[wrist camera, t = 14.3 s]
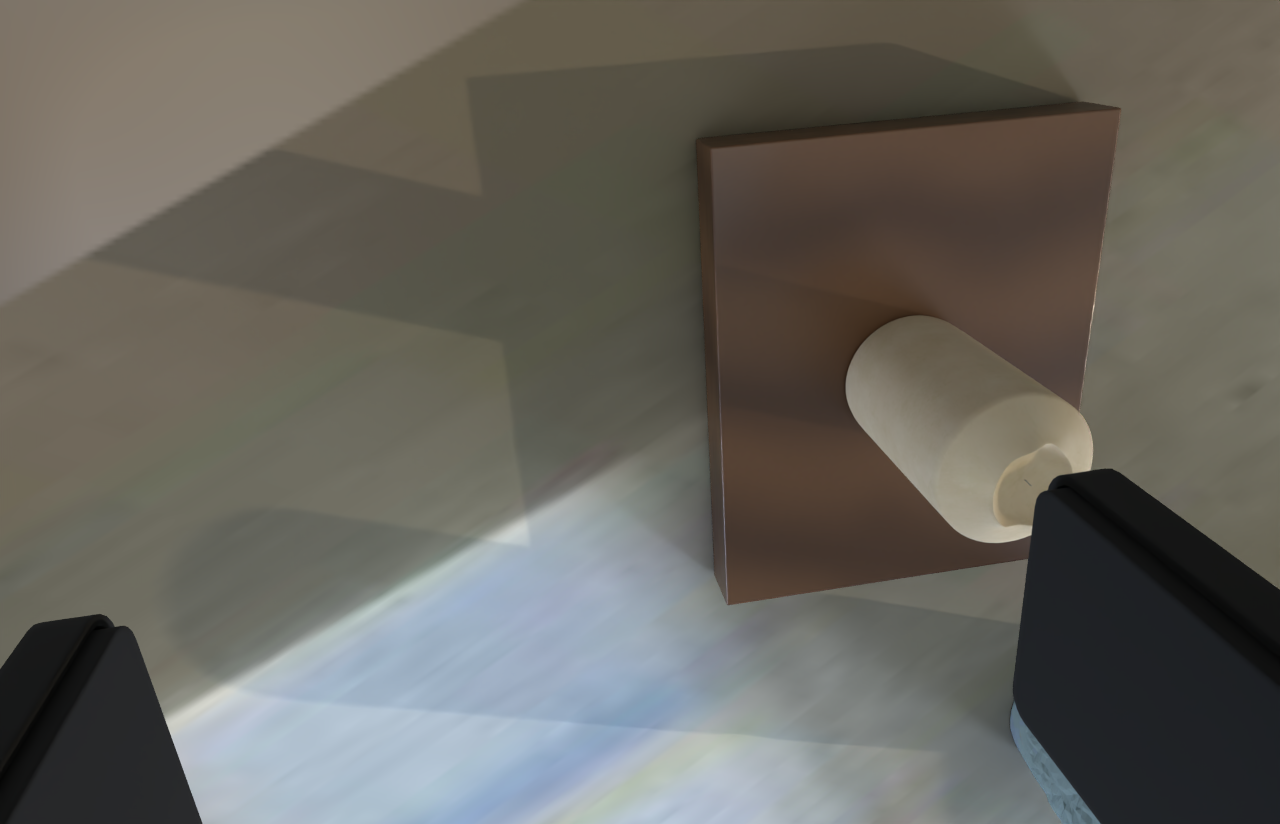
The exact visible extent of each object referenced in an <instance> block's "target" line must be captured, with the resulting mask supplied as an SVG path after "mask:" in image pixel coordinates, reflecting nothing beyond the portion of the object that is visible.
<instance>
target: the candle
mask: <svg viewBox="0 0 1280 824" xmlns="http://www.w3.org/2000/svg"><path fill="white" fill-rule="evenodd" d="M846 397H847V402H848V405H849V408H850V410H851V412H852V414H853V416H854V418H855V419H856V421H857V422H858V423H859V425H860V426H861V427H862V428H863V429H864V431H865V432H866V433H867V434H868V435H869V436H870V437H871V438H872V439H873V441H874V442H875V443H876V444H877V445H878V446H879V447H880V448H881V449H882V451H883V452H884V453H885V454H886V455H887V456H888V457H889V458H890V459H891V460H892V462H893V463H894V464H895V465H896V466H897V467H898V468H899V469H900V470H901V472H902V473H903V474H904V475H905V476H906V477H907V478H908V479H909V480H910V481H911V483H912V484H913V485H914V486H915V487H916V488H917V489H918V490H919V491H920V493H921V494H922V495H923V496H924V497H925V498H926V499H927V500H928V501H929V503H930V504H931V505H932V506H933V507H934V508H935V509H936V510H937V511H938V512H939V514H940V515H941V516H942V517H943V518H944V519H945V520H946V521H947V522H948V523H949V524H950V525H951V526H952V527H953V528H954V529H955V530H956V531H957V532H959V533H960V534H962V535H964V536H966V537H968V538H970V539H973V540H976V541H981V542H986V543H1003V542H1010V541H1015V540H1018V539H1022V538H1025V537H1028V536H1030V535H1031V533H1032V525H1033V517H1034V508H1035V503H1036V499H1037V497H1038V495H1039V494H1040V493H1041V492H1043V491H1047V490H1048V487H1049V485H1050V483H1051V481H1052V480H1053V479H1054V478H1055V477H1057V476H1059V475H1065V474H1072V473H1078V472H1085V471H1090V469H1091V464H1092V458H1093V441H1092V436H1091V432H1090V429H1089V426H1088V424H1087V423H1086V421H1085V419H1084V417H1083V416H1082V415H1081V414H1080V413H1079V411H1078V410H1076V409H1075V408H1074V407H1073V406H1072V405H1070V404H1069V403H1068V402H1066V401H1065V400H1063V399H1062V398H1060V397H1059V396H1057V395H1056V394H1054V393H1053V392H1051V391H1050V390H1049V389H1047V388H1046V387H1044V386H1043V385H1041V384H1040V383H1038V382H1037V381H1035V380H1034V379H1032V378H1031V377H1029V376H1028V375H1026V374H1025V373H1023V372H1022V371H1021V370H1019V369H1018V368H1016V367H1015V366H1013V365H1012V364H1010V363H1009V362H1007V361H1006V360H1004V359H1003V358H1001V357H1000V356H998V355H997V354H995V353H994V352H993V351H991V350H990V349H988V348H987V347H985V346H984V345H982V344H981V343H979V342H978V341H976V340H975V339H973V338H972V337H970V336H969V335H968V334H966V333H965V332H963V331H961V330H960V329H958V328H957V327H955V326H953V325H952V324H950V323H948V322H946V321H944V320H941V319H938V318H935V317H931V316H923V315H916V316H907V317H903V318H899V319H896V320H894V321H891V322H889V323H887V324H885V325H884V326H882V327H880V328H879V329H877V330H876V331H875V332H873V333H872V334H871V335H870V336H869V337H868V338H867V339H866V340H865V341H864V342H863V343H862V344H861V346H860V347H859V349H858V350H857V352H856V353H855V355H854V357H853V359H852V361H851V363H850V366H849V368H848V372H847V377H846Z"/></svg>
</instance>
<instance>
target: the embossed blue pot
mask: <svg viewBox="0 0 1280 824" xmlns="http://www.w3.org/2000/svg"><path fill="white" fill-rule="evenodd" d="M1010 728H1011V732H1012V735H1013V738H1014V741H1015V743H1016V746H1017V748H1018V749H1019V751H1020V753H1021V755H1022V756H1023V758H1024V760H1025V761H1026V763H1027V765H1028V767H1029V768H1030V770H1031V772H1032V773H1033V775H1034V777H1035V779H1036V780H1037V782H1038V783H1039V784H1040V786H1041V787H1042V789H1043V790H1044V792H1045V793H1046V795H1047V798H1048V801H1049V803H1050V805H1051V807H1052V808H1053V810H1054V812H1055V813H1056V815H1057V816H1058V817H1059V818H1060V820H1061V823H1062V824H1100V822H1099V821H1098V820H1097V818H1096V817H1095V816H1094V814H1093V813H1092V812H1091V810H1090V809H1089V808H1088V806H1087V805H1086V804H1085V802H1084V801H1083V800H1082V798H1081V797H1080V796H1079V795H1078V793H1077V792H1076V791H1075V789H1074V788H1073V787H1072V785H1071V784H1070V783H1069V781H1068V780H1067V779H1066V777H1065V776H1064V775H1063V773H1062V772H1061V771H1060V770H1059V768H1058V767H1057V766H1056V764H1055V763H1054V762H1053V760H1052V759H1051V758H1050V756H1049V755H1048V754H1047V752H1046V751H1045V750H1044V748H1043V747H1042V746H1041V744H1040V743H1039V742H1038V741H1037V739H1036V738H1035V737H1034V735H1033V734H1032V733H1031V731H1030V730H1029V729H1028V727H1027V726H1026V725H1025V723H1024V722H1023V720H1022V719H1021V717H1020V715H1019V713H1018V710H1017V708H1016V705H1015V701H1014V703H1013V707H1012V710H1011V717H1010Z"/></svg>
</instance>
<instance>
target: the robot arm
mask: <svg viewBox="0 0 1280 824" xmlns="http://www.w3.org/2000/svg"><path fill="white" fill-rule="evenodd" d="M1013 696H1014V701H1015V705H1016V708H1017V710H1018V713H1019V715H1020V717H1021V719H1022V720H1023V722H1024V723H1025V725H1026V726H1027V727H1028V729H1029V730H1030V731H1031V733H1032V734H1033V735H1034V737H1035V738H1036V739H1037V741H1038V742H1039V743H1040V744H1041V746H1042V747H1043V748H1044V750H1045V751H1046V752H1047V754H1048V755H1049V756H1050V758H1051V759H1052V760H1053V762H1054V763H1055V764H1056V766H1057V767H1058V768H1059V770H1060V771H1061V772H1062V773H1063V775H1064V776H1065V777H1066V779H1067V780H1068V781H1069V783H1070V784H1071V785H1072V787H1073V788H1074V789H1075V791H1076V792H1077V793H1078V795H1079V796H1080V797H1081V798H1082V800H1083V801H1084V802H1085V804H1086V805H1087V806H1088V808H1089V809H1090V810H1091V812H1092V813H1093V814H1094V816H1095V817H1096V818H1097V820H1098V821H1099V822H1100V824H1280V590H1279V589H1278V588H1277V587H1275V586H1274V585H1272V584H1271V583H1270V582H1268V581H1267V580H1266V579H1264V578H1263V577H1262V576H1260V575H1259V574H1257V573H1256V572H1255V571H1253V570H1252V569H1251V568H1249V567H1248V566H1246V565H1245V564H1244V563H1242V562H1241V561H1240V560H1238V559H1237V558H1236V557H1234V556H1233V555H1231V554H1230V553H1229V552H1227V551H1226V550H1225V549H1223V548H1222V547H1221V546H1219V545H1218V544H1216V543H1215V542H1214V541H1212V540H1211V539H1210V538H1208V537H1207V536H1206V535H1204V534H1203V533H1201V532H1200V531H1199V530H1197V529H1196V528H1195V527H1193V526H1192V525H1190V524H1189V523H1188V522H1186V521H1185V520H1184V519H1182V518H1181V517H1180V516H1178V515H1177V514H1175V513H1174V512H1173V511H1171V510H1170V509H1169V508H1167V507H1166V506H1165V505H1163V504H1162V503H1160V502H1159V501H1158V500H1156V499H1155V498H1154V497H1152V496H1151V495H1150V494H1148V493H1147V492H1145V491H1144V490H1143V489H1141V488H1140V487H1139V486H1137V485H1136V484H1135V483H1133V482H1132V481H1130V480H1129V479H1128V478H1126V477H1125V476H1124V475H1122V474H1121V473H1119V472H1117V471H1115V470H1113V469H1099V470H1092V471H1085V472H1078V473H1072V474H1065V475H1059V476H1057V477H1055V478H1054V479H1053V480H1052V481H1051V483H1050V485H1049V487H1048V490H1047V491H1043V492H1041V493H1040V494H1039V495H1038V497H1037V499H1036V503H1035V508H1034V517H1033V525H1032V533H1031V541H1030V549H1029V558H1028V566H1027V574H1026V582H1025V590H1024V599H1023V607H1022V615H1021V623H1020V632H1019V640H1018V648H1017V656H1016V664H1015V673H1014V681H1013ZM0 824H202V821H201V818H200V816H199V813H198V810H197V807H196V805H195V802H194V799H193V796H192V793H191V791H190V788H189V785H188V782H187V780H186V777H185V774H184V771H183V768H182V766H181V763H180V760H179V757H178V755H177V752H176V749H175V746H174V743H173V741H172V738H171V735H170V732H169V730H168V727H167V724H166V721H165V718H164V716H163V713H162V710H161V707H160V704H159V702H158V699H157V696H156V693H155V691H154V688H153V685H152V682H151V679H150V677H149V674H148V671H147V668H146V666H145V663H144V660H143V657H142V654H141V652H140V649H139V646H138V643H137V641H136V638H135V636H134V634H133V632H132V631H131V630H130V629H129V628H128V627H126V626H119V627H114V625H113V623H112V621H111V620H110V619H109V618H108V617H107V616H104V615H101V614H97V615H90V616H83V617H76V618H69V619H62V620H55V621H49V622H42V623H38V624H35V625H33V626H32V627H31V628H30V629H29V630H28V631H27V633H26V634H25V635H24V637H23V638H22V640H21V641H20V642H19V644H18V645H17V647H16V648H15V649H14V651H13V652H12V654H11V655H10V656H9V658H8V659H7V661H6V662H5V663H4V665H3V666H2V668H1V669H0Z"/></svg>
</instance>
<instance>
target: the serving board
mask: <svg viewBox="0 0 1280 824" xmlns="http://www.w3.org/2000/svg"><path fill="white" fill-rule="evenodd" d="M1120 115H1121V108H1118V107H1112V106H1106V105H1100V104H1094V103H1088V102H1075V103H1064V104H1054V105H1043V106H1033V107H1022V108H1012V109H1001V110H991V111H980V112H969V113H959V114H948V115H938V116H927V117H917V118H906V119H896V120H885V121H875V122H864V123H854V124H843V125H833V126H822V127H811V128H801V129H790V130H780V131H769V132H759V133H748V134H738V135H727V136H717V137H706V138H698V139H697V140H696V151H697V175H698V198H699V222H700V245H701V269H702V292H703V316H704V339H705V363H706V386H707V410H708V433H709V457H710V480H711V504H712V527H713V551H714V574H715V577H716V579H717V582H718V584H719V587H720V589H721V592H722V594H723V596H724V599H725V601H726V603H727V605H733V604H739V603H746V602H752V601H759V600H765V599H772V598H778V597H784V596H791V595H797V594H804V593H810V592H817V591H823V590H829V589H836V588H842V587H849V586H855V585H862V584H868V583H875V582H881V581H887V580H894V579H900V578H907V577H913V576H920V575H926V574H933V573H939V572H945V571H952V570H958V569H965V568H971V567H978V566H984V565H991V564H997V563H1003V562H1010V561H1016V560H1023V559H1028V558H1029V549H1030V541H1031V535H1030V536H1028V537H1025V538H1022V539H1018V540H1015V541H1010V542H1003V543H986V542H981V541H976V540H973V539H970V538H968V537H966V536H964V535H962V534H960V533H959V532H957V531H956V530H955V529H954V528H953V527H952V526H951V525H950V524H949V523H948V522H947V521H946V520H945V519H944V518H943V517H942V516H941V515H940V514H939V512H938V511H937V510H936V509H935V508H934V507H933V506H932V505H931V504H930V503H929V501H928V500H927V499H926V498H925V497H924V496H923V495H922V494H921V493H920V491H919V490H918V489H917V488H916V487H915V486H914V485H913V484H912V483H911V481H910V480H909V479H908V478H907V477H906V476H905V475H904V474H903V473H902V472H901V470H900V469H899V468H898V467H897V466H896V465H895V464H894V463H893V462H892V460H891V459H890V458H889V457H888V456H887V455H886V454H885V453H884V452H883V451H882V449H881V448H880V447H879V446H878V445H877V444H876V443H875V442H874V441H873V439H872V438H871V437H870V436H869V435H868V434H867V433H866V432H865V431H864V429H863V428H862V427H861V426H860V425H859V423H858V422H857V421H856V419H855V418H854V416H853V414H852V412H851V410H850V408H849V405H848V402H847V397H846V377H847V372H848V368H849V366H850V363H851V361H852V359H853V357H854V355H855V353H856V352H857V350H858V349H859V347H860V346H861V344H862V343H863V342H864V341H865V340H866V339H867V338H868V337H869V336H870V335H871V334H872V333H873V332H875V331H876V330H877V329H879V328H880V327H882V326H884V325H885V324H887V323H889V322H891V321H894V320H896V319H899V318H903V317H907V316H916V315H923V316H931V317H935V318H938V319H941V320H944V321H946V322H948V323H950V324H952V325H953V326H955V327H957V328H958V329H960V330H961V331H963V332H965V333H966V334H968V335H969V336H970V337H972V338H973V339H975V340H976V341H978V342H979V343H981V344H982V345H984V346H985V347H987V348H988V349H990V350H991V351H993V352H994V353H995V354H997V355H998V356H1000V357H1001V358H1003V359H1004V360H1006V361H1007V362H1009V363H1010V364H1012V365H1013V366H1015V367H1016V368H1018V369H1019V370H1021V371H1022V372H1023V373H1025V374H1026V375H1028V376H1029V377H1031V378H1032V379H1034V380H1035V381H1037V382H1038V383H1040V384H1041V385H1043V386H1044V387H1046V388H1047V389H1049V390H1050V391H1051V392H1053V393H1054V394H1056V395H1057V396H1059V397H1060V398H1062V399H1063V400H1065V401H1066V402H1068V403H1069V404H1070V405H1072V406H1073V407H1074V408H1075V409H1076V410H1078V411H1079V412H1080V405H1081V398H1082V391H1083V383H1084V376H1085V369H1086V362H1087V354H1088V347H1089V340H1090V333H1091V325H1092V318H1093V311H1094V304H1095V296H1096V289H1097V282H1098V275H1099V267H1100V260H1101V253H1102V246H1103V239H1104V231H1105V224H1106V217H1107V210H1108V202H1109V195H1110V188H1111V181H1112V173H1113V166H1114V159H1115V152H1116V144H1117V137H1118V130H1119V123H1120Z"/></svg>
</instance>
